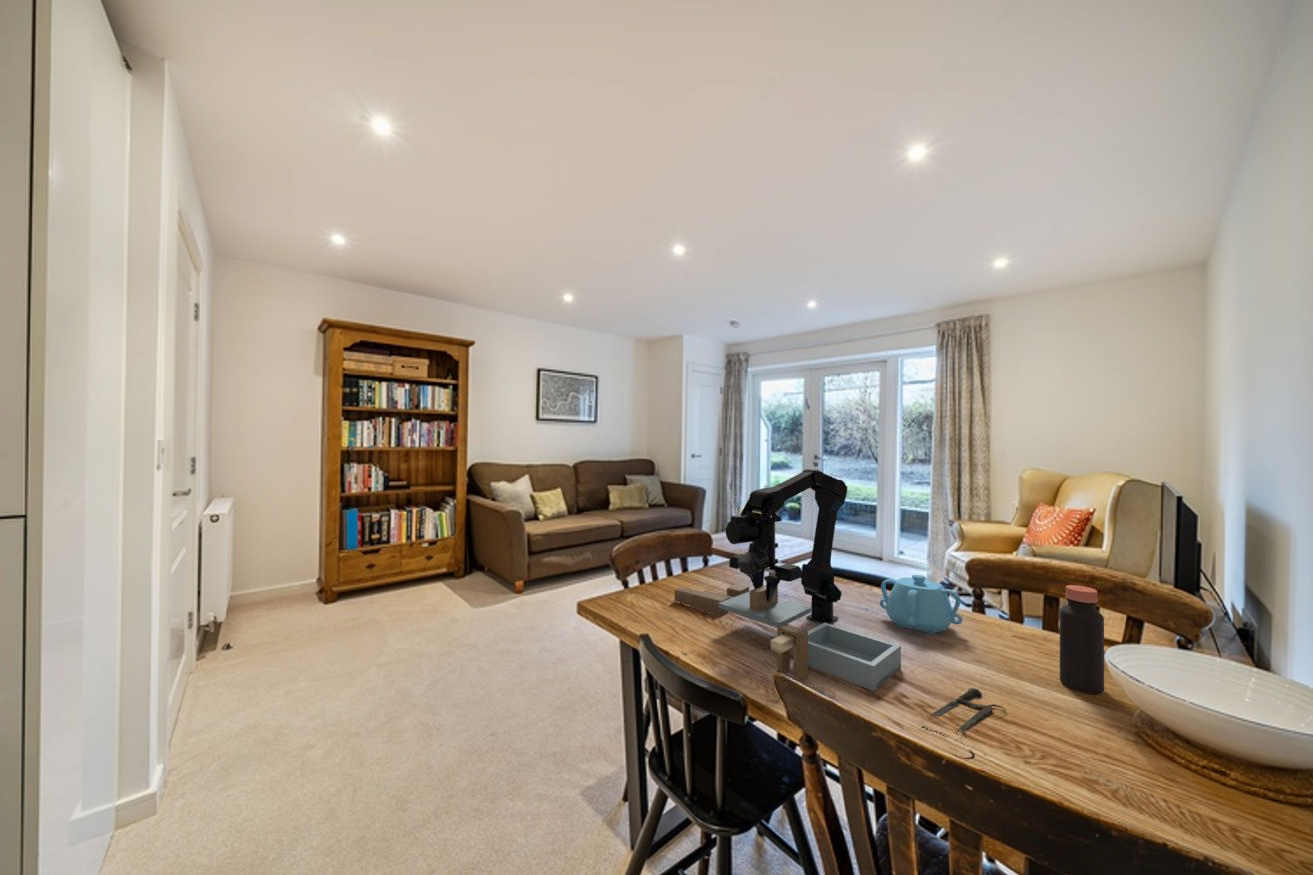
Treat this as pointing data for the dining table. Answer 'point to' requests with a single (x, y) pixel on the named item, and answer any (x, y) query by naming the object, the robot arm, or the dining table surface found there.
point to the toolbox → (841, 654)
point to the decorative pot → (920, 604)
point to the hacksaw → (964, 699)
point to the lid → (765, 607)
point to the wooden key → (782, 643)
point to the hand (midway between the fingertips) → (764, 599)
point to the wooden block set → (708, 598)
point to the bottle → (1082, 641)
